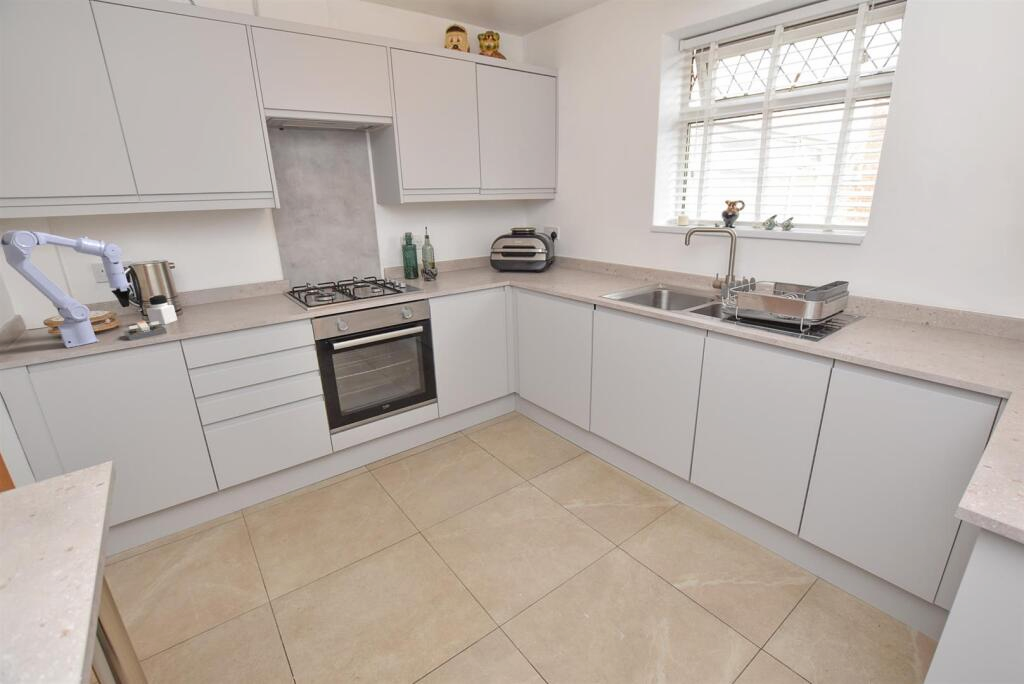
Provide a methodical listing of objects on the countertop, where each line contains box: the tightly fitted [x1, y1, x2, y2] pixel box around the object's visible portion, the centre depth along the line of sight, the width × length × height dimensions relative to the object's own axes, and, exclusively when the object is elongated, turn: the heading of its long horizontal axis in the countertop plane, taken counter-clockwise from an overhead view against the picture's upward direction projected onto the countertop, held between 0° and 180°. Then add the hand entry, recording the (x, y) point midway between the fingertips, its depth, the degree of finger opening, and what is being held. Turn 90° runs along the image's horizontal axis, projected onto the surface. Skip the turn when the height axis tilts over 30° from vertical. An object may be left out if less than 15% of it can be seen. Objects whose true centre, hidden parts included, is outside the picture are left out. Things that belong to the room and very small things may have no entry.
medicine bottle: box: [146, 294, 178, 326], centre depth 205 cm, size 7×7×12 cm
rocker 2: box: [136, 320, 150, 331], centre depth 188 cm, size 3×6×1 cm, turn 48°
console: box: [122, 324, 168, 341], centre depth 189 cm, size 12×10×2 cm
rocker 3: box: [147, 321, 159, 327], centre depth 190 cm, size 3×6×1 cm, turn 48°
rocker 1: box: [126, 324, 139, 331], centre depth 185 cm, size 3×6×1 cm, turn 48°
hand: (125, 306), depth 192 cm, fingers closed
